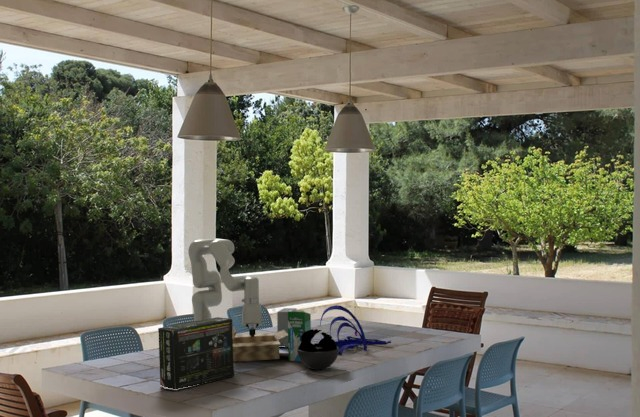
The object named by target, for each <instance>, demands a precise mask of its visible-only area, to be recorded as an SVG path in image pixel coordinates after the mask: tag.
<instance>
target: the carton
mask: <svg viewBox="0 0 640 417" xmlns="http://www.w3.org/2000/svg"><path fill="white" fill-rule="evenodd" d="M279 345H281V344H280V342H279V340H278V339H277V337H276V336H275V333H273V332H266V333H264V332H263V333H255V335H254V337H253V336H252V337H251V335H249V333H244V334H243V333H242V334H236V335H235V338H234V341H233V362H234V363H235V362H249V361H250V362H252V361H267V360H268V361H269V360H280V348H279Z"/></svg>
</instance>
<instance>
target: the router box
mask: <svg viewBox="0 0 640 417" xmlns="http://www.w3.org/2000/svg"><path fill="white" fill-rule="evenodd" d="M232 328H233V319H232V318H227V317H219V316H217V317H213V318H211V319H205V320H200V321H194V320H193V321H189V322H184V323H178V324H173V325H168V326H162V327H158V329H157V331H158V354H159V357H158V359H159V379H160V380H159V382H160V383H159V384H160V385H162V386H164V387H168V388H173V389H178V388H183V387H188V386H193V385H197V384H202V383H205V382H210V381H213V382H215V381H214V380H217V381H220V380H219V379H221V380H224V378H225V379H228V378H231V377H234V376H235V365H234V363H235V362H233V336H232ZM210 383H211V382H210ZM202 385H203V384H202Z"/></svg>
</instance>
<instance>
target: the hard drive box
mask: <svg viewBox="0 0 640 417" xmlns="http://www.w3.org/2000/svg"><path fill="white" fill-rule="evenodd" d="M297 310H298V309H297V308H295V307H294V308H293V307H290V308H289V307H285V308H284V307H283V308H282V309H280V310H279V311H277V314H276V316H277V320H276V321H277V323H276V324H277V328H276V330H277V332H280V331H282V330H285V332H286V333H287V334H288V311H290V312H297ZM277 332H276V333H277ZM279 342H280V344H281V345H279V346H285V347H288V337H286V338H283V339H281V340H279Z"/></svg>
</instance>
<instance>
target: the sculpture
mask: <svg viewBox="0 0 640 417" xmlns="http://www.w3.org/2000/svg"><path fill="white" fill-rule="evenodd" d="M332 310H333V311H334V310H338V311H339V310H340V311H343V312H344V313H347V314H348V315H349V316H350V317H351V318H352V319H353V321H355V323H356V325H357V327H358V329H357V327H356V326H355V324H354V323H353V322H352V321H351V320H349V319H348V318H347V317H345V316H342V315H339V316H336V317H335V318H333V319H332V320H331V321H330V324H329V325H330V326H329V335H330V336H332V335H331V330H332V326H333V324H335V323H336V322H338V321H343V322H342V323H340V324H339V326H338V328H337V330H336V331H337V332H336V337H337V341H335V344H336V346H337V347H339V353H338V355H341V356H342V355H343V353H344V351H345V350H348V349H349V350H351V349H355V347H359V346H361V347H363V351H365V352H367V351H368V345H371V346H374V345H375V346H376V345H378V346H382V345H383V346H384V345H388V344H391V343H392V340H387V341H385V340H380V339H375V338H374V339H373V338H366V336H365V333H364V330H363V327H362V325H361V324H360V322H359V320H358V319H357V317H356V316H355V315H354V314H353V313H352V312H351V310H350V309H348V308H347V307H345V306H342V305H337V304H336V305H330V306H328V307H327V308H326V309H324V311H323V312H322V314H321V317H320V322H319V326H322V325H321V323H322V320H323V317H324V315H325V314H326V313H327V312H329V311H332ZM345 327H347V328H351V329H353V330H354V335H355V337H353V336H351V335H348V336H346V338H344V339H340V331H341V330H342V328H345ZM319 333H320V336H322V334H321V333H322V332H319ZM358 336H359V337H358ZM320 340H322V338H320Z"/></svg>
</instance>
